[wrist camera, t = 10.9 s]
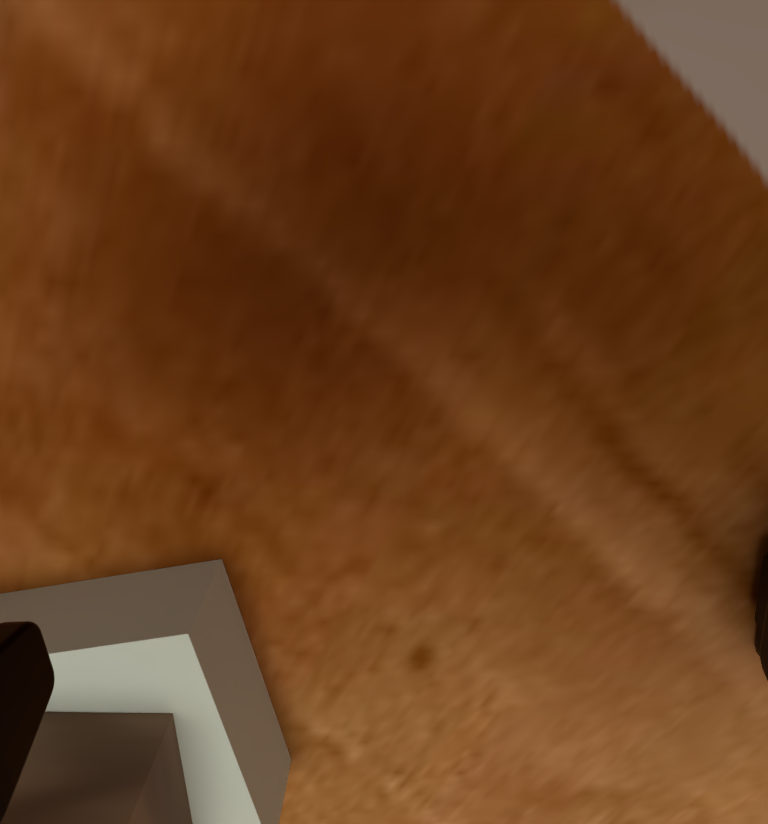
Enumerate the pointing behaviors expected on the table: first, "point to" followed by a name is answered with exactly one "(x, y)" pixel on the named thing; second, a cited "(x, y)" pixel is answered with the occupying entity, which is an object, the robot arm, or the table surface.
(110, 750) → the walnut cube
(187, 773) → the base block
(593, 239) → the table surface
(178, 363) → the table surface
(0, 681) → the robot arm
